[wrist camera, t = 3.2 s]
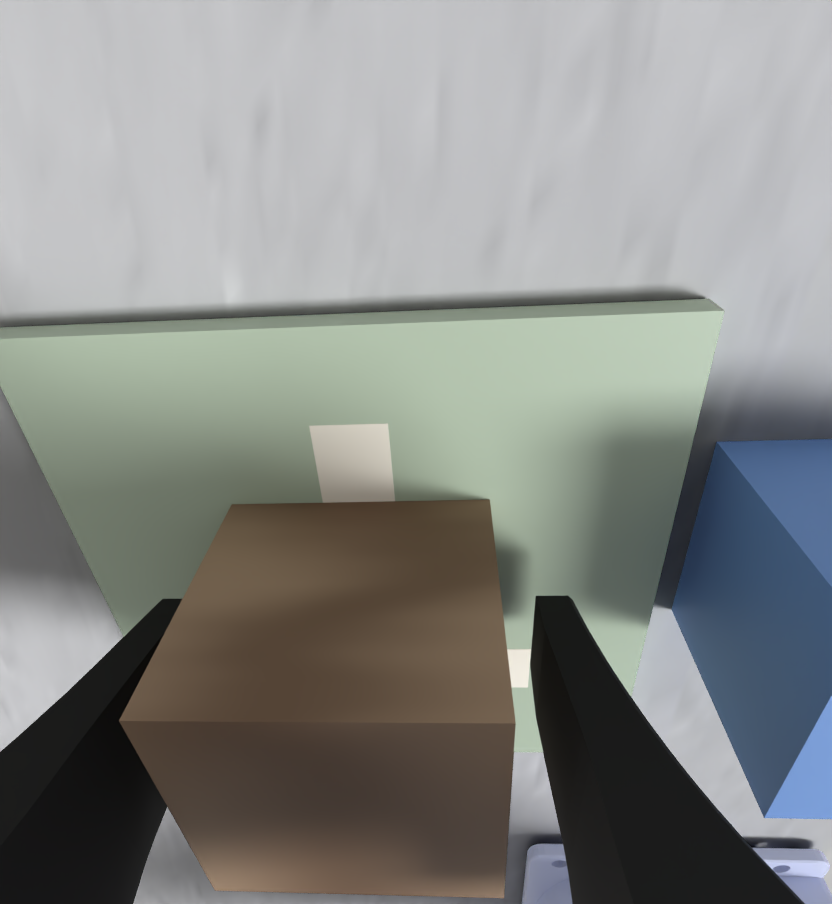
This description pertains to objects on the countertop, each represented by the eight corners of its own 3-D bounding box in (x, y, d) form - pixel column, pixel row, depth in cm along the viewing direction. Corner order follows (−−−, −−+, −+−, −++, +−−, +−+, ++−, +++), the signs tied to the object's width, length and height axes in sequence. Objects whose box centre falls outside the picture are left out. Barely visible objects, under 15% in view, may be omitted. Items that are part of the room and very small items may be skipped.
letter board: (709, 298, 9) (725, 311, 9) (611, 731, 15) (617, 753, 15) (1, 326, 10) (-24, 340, 9) (187, 727, 16) (178, 749, 16)
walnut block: (489, 499, 11) (515, 723, 7) (486, 669, 13) (504, 898, 9) (231, 504, 11) (118, 720, 7) (278, 668, 14) (215, 890, 10)
